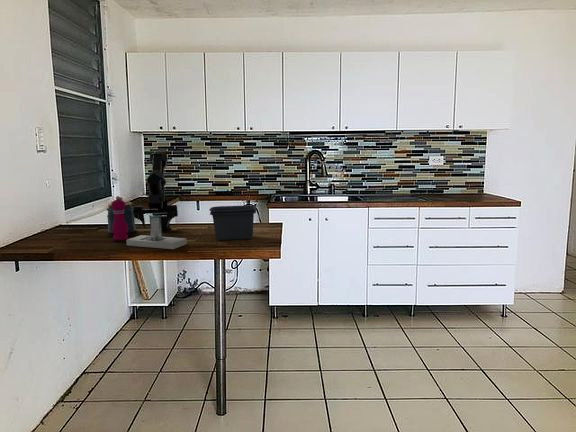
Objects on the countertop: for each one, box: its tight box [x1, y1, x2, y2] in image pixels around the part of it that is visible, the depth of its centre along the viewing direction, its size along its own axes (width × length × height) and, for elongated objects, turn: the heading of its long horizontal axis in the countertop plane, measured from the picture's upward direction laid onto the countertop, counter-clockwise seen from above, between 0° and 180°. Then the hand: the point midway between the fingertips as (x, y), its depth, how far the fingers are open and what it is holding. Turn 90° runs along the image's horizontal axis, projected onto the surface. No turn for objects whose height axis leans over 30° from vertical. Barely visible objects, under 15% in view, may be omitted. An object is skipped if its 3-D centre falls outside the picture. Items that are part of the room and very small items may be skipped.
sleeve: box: [149, 214, 163, 241], centre depth 200 cm, size 5×5×13 cm
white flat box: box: [125, 234, 188, 250], centre depth 201 cm, size 24×10×3 cm, turn 70°
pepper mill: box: [111, 195, 129, 241], centre depth 213 cm, size 7×7×20 cm
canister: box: [106, 196, 136, 235], centre depth 230 cm, size 13×13×18 cm
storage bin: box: [208, 205, 257, 241], centre depth 213 cm, size 21×16×14 cm
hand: (155, 227), depth 199 cm, fingers open, 9 cm apart
